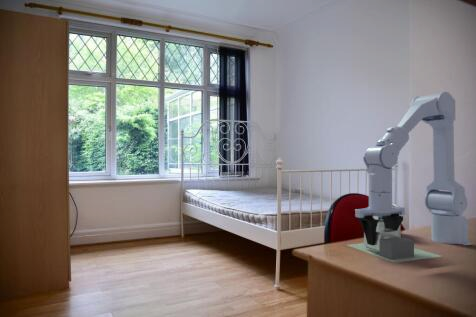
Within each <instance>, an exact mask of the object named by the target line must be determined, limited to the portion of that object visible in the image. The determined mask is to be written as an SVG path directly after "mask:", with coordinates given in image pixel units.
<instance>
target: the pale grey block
mask: <svg viewBox="0 0 476 317" xmlns="http://www.w3.org/2000/svg"><path fill="white" fill-rule="evenodd" d="M389 238H398V231H396V230H392V229H388V228H384V227H377V228H376V240H375V245H369V244H367V240H366V236H365V233H364V232H363V243H364V246H366V247H369V248H372V249H375V250H378V251H379V239H389Z"/></svg>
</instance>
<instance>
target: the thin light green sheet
mask: <svg viewBox="0 0 476 317" xmlns="http://www.w3.org/2000/svg"><path fill="white" fill-rule="evenodd" d="M346 246H348V247H350V248H353V249H356V250H358V251H360V252H364V253H367V254H369V255H372V256H374V257H378V258H379V259H380V258H381V259H383V260H386V261H388V262H391V263H394V264H395V263H403V262H410V261H417V260H425V259H432V258H433V259H434V258H441V257H443V255H440V254H436V253H434V252H429V251H426V250H422V249H418V248H416V247H415V240H413V239H409V238H405V237H399V238H389V239H379V251H378V250H375V249H372V248H369V247H366V246H364V242H360V243H350V244H346Z"/></svg>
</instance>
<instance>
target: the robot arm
mask: <svg viewBox="0 0 476 317" xmlns="http://www.w3.org/2000/svg"><path fill="white" fill-rule="evenodd" d="M408 108H409V109H408V110H407V112H406V113H405V114H404V115H403V117H402V119H401V120H400V121H399V123H398V124H397V125H395V126H391V127H387V129H386V132H385V134H383V136H382V137H381V138H380V139H379V140H378V141H377V142H376V144H375V145H374V146H370V147H369V148H367V149H366V151H365V153H364V156H363V157H362V158H363V162H364V165H365V167H366V172H367V174H368V206H367V207H365V208H358V209H357V208H356V209H354V212H355V214H354V216H355V218H357V220H358V222H359V224H360V226H361V227H362V230H363V234H364V233H365V236H366V240H367V244H369V245H375V240H376V228H377V224H378V221H379V220H377V219H374V218H373V216H382V218H383V221H384V225H385V228H388V229H392V230H396V231H397V230H398V228H399V226H400V227H401V224H402V223H403V221H404V216H403V215H405V214H406V208H405V207H404V206H400V207H392V203H393V167H394V166H396V165H397V163H398V159H399V155H400V151H401V150H402V149H403V148H404V147H405V146H406V144H407V143H408V142H409V140H410V135H409V133H410V132H411V131H412V130H414V128H415V127H416V126H417V125H418V124H419V123H420V122H423V123H425V124H428V125H429V126H430V127H431V128H432V136H433V138H432V146H433V148H432V150H433V151H432V152H433V153H432V154H433V156H432V157H433V160H432V162H433V180H432V181H431V183H429V184H428V185H426V192H425V196H424V199H423V200H424V206H425V208H426V209H427V210H428V213H431V214H430V216H431V219H430V220H431V223H430V224H431V226H430V227H431V231H430V232H431V240H432V241H433V242H436V243H440V244H441V243H442V244H448V245H449V244H452V245H453V244H458V245H463V246H471V245H472V243H471V242H469V221H468V219H467V217H466V216H465V215H464V213H465V211H466V210H467V207H468V198H467V196H466V190H465V187H464V186H463V185H462V184H460V183H458V182H457V181H456V180H455V134H454V133H455V130H454V129H455V128H454V126H455V125H454V124H455V123H454V122H455V121H456V99H455V98H454V97H453V95H452V94H451V93H449V91H442V92H439V93H433V94H427V95H423V96H416V97H414V98H412V100H411V101H410V102H409V104H408ZM377 213H381V214H377ZM399 215H400V216H399Z"/></svg>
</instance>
